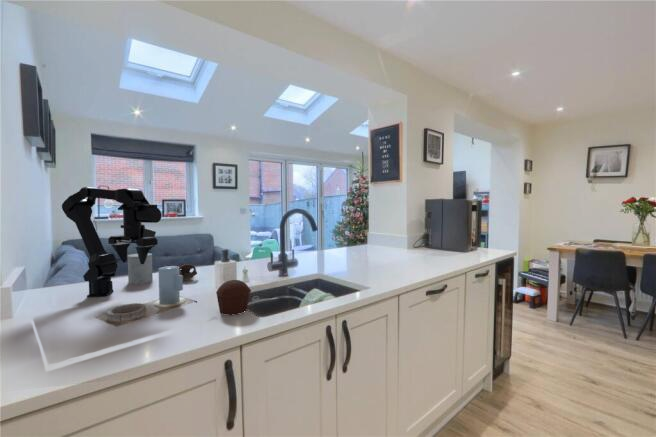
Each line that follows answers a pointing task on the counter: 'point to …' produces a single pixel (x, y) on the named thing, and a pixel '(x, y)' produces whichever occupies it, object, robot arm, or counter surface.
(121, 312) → the tan flat slab
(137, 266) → the tall grey pillar block
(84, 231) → the robot arm
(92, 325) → the counter surface
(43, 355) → the counter surface
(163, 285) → the pale blue cylinder
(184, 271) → the pottery mug
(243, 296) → the muffin
